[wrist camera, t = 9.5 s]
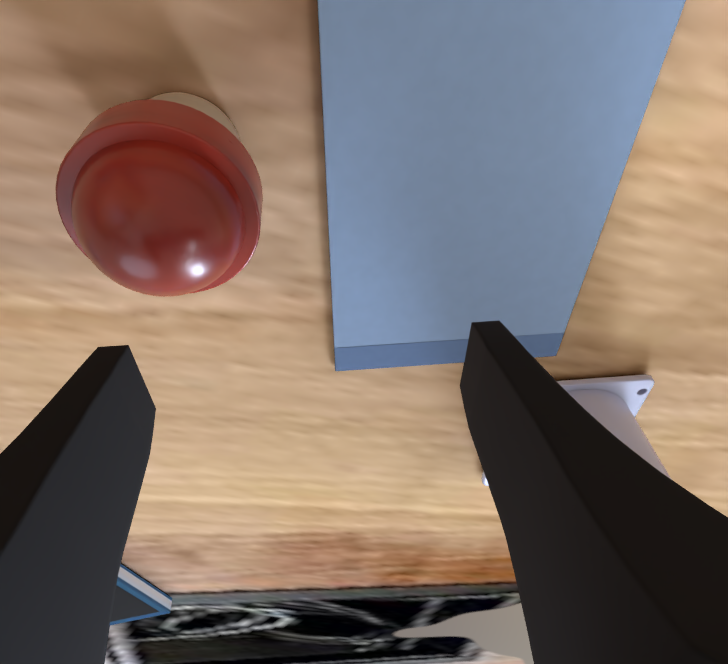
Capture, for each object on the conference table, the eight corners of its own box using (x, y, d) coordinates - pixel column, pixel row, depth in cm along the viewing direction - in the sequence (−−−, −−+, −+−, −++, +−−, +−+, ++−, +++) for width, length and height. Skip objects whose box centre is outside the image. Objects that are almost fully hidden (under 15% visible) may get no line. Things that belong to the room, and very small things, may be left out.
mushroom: (274, 213, 19) (268, 334, 15) (130, 219, 19) (75, 346, 14) (255, 61, 16) (238, 154, 11) (77, 65, 15) (-20, 164, 11)
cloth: (553, 351, 26) (556, 356, 26) (335, 366, 25) (335, 371, 25) (764, -237, 12) (774, -238, 12) (305, -246, 12) (305, -248, 11)
